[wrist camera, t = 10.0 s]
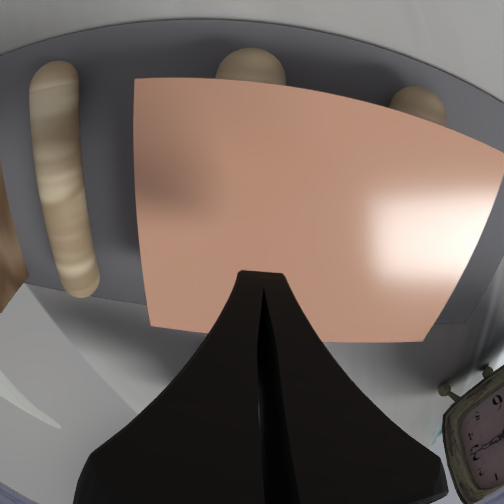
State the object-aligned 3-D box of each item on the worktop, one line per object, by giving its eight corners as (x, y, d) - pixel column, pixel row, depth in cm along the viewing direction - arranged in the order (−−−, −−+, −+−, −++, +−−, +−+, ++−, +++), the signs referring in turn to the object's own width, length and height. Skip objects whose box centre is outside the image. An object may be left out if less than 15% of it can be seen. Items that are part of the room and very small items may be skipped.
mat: (462, 320, 22) (464, 323, 22) (15, 277, 20) (13, 280, 20) (543, 132, 12) (546, 133, 12) (-22, 65, 10) (-25, 66, 10)
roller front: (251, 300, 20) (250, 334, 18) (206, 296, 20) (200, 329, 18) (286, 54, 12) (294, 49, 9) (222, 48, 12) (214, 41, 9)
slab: (414, 324, 17) (422, 341, 16) (157, 306, 17) (150, 325, 15) (491, 146, 11) (509, 155, 10) (148, 77, 10) (134, 78, 9)
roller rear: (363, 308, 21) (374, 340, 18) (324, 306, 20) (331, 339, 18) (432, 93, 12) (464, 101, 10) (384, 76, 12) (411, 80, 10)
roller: (109, 283, 20) (92, 310, 17) (78, 276, 20) (59, 301, 17) (90, 55, 11) (57, 57, 9) (52, 63, 11) (19, 68, 9)
